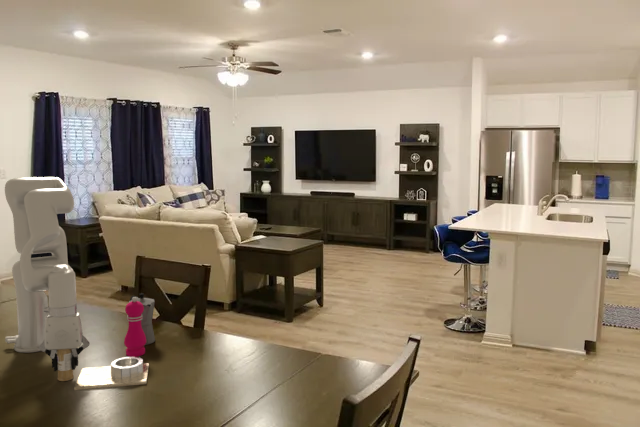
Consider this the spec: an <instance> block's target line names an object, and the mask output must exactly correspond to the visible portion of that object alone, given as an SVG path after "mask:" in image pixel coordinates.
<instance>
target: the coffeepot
mask: <svg viewBox="0 0 640 427" xmlns="http://www.w3.org/2000/svg"><path fill="white" fill-rule="evenodd" d="M138 294H139V297H138V296H135V295H132V296H131V297H130V298H129V301H128V303H129V302H132V298H133V297H136V298H137V301H139V302H141V303H142V304H143V306H144V311H143V313H142V320H141V326H142V329H143V332H144V334H145V336H146V344H145V345H144V346H147V345H150V344H153V343H154V342H155V341H156V338H155V333H154V329H153V328H154V326H153V323H152V322H153V321H152V320H153V316H154V308H155V299H154V298H150V297H145V296H144V295H145V294H144V293H142V292H141V293H138Z"/></svg>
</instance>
